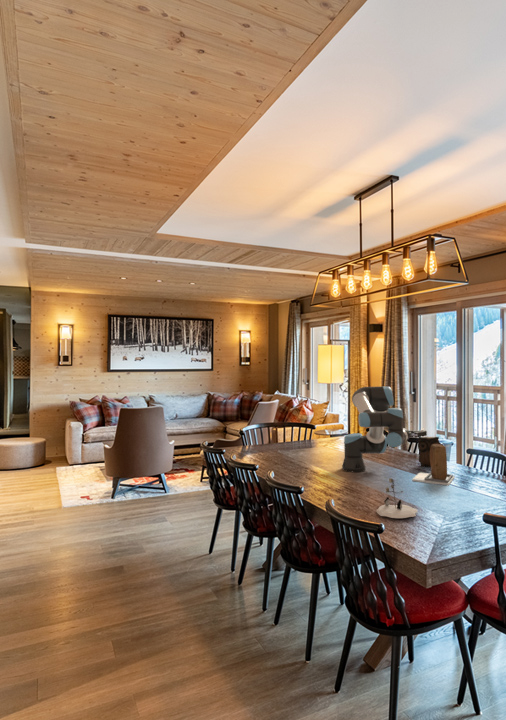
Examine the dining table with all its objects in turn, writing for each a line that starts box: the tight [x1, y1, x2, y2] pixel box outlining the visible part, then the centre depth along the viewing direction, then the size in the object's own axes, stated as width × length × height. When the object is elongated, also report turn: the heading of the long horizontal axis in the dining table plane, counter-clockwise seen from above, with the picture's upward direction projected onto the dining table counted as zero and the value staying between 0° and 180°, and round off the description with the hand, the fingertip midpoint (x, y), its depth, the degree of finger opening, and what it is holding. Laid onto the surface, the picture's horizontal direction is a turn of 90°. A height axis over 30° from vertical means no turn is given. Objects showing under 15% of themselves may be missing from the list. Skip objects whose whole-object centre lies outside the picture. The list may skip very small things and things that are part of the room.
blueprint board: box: [411, 471, 455, 486], centre depth 263 cm, size 20×18×2 cm
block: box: [430, 444, 448, 480], centre depth 262 cm, size 11×8×20 cm
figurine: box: [376, 478, 418, 519], centre depth 208 cm, size 20×18×16 cm
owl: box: [417, 436, 441, 468], centre depth 296 cm, size 13×13×20 cm
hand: (411, 429), depth 253 cm, fingers open, 13 cm apart
